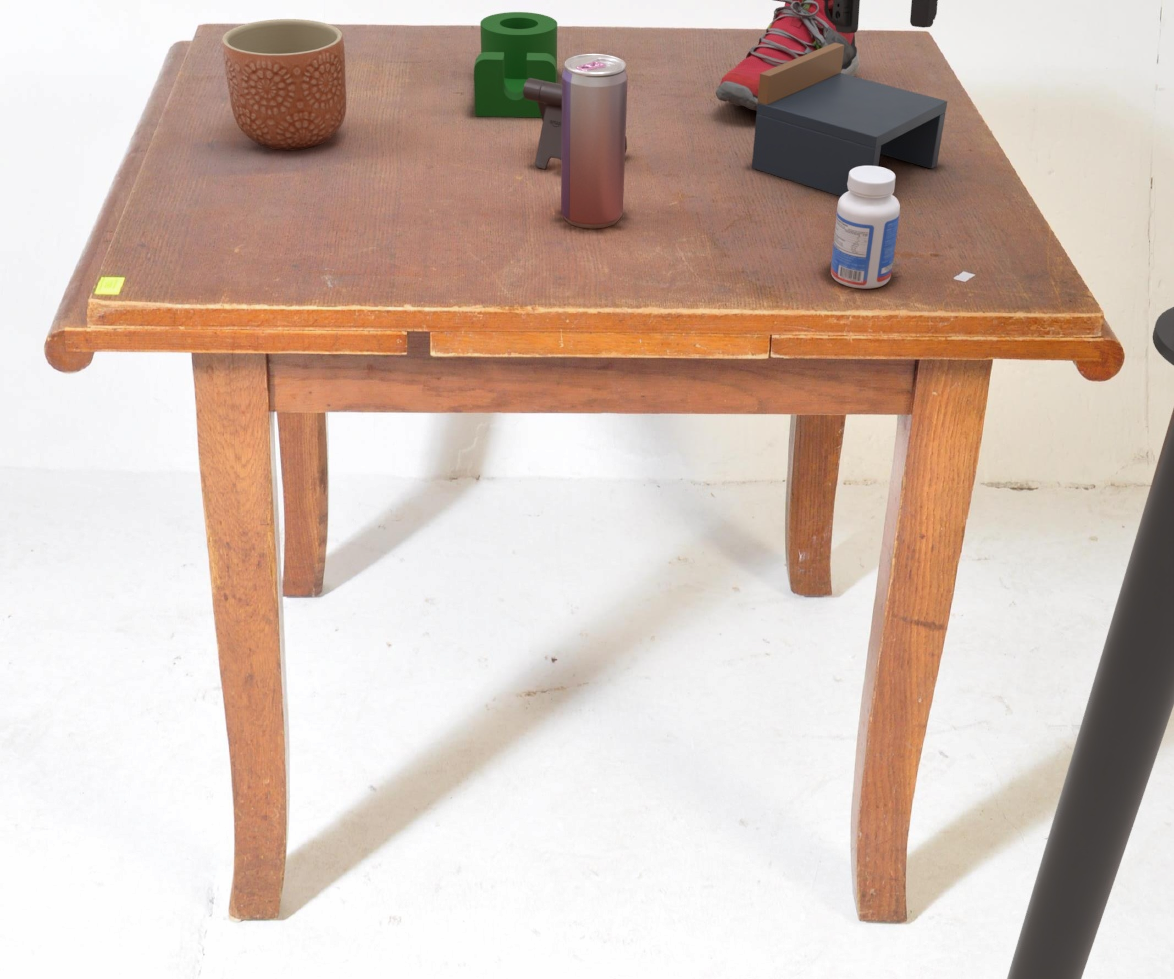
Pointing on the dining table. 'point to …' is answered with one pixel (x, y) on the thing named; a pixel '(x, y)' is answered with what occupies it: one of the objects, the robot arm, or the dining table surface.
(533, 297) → the dining table surface
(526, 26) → the slotted cylinder bracket
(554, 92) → the tablet stand
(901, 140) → the shelf
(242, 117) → the planter
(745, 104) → the athletic shoe
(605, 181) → the beverage can
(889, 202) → the pill bottle
